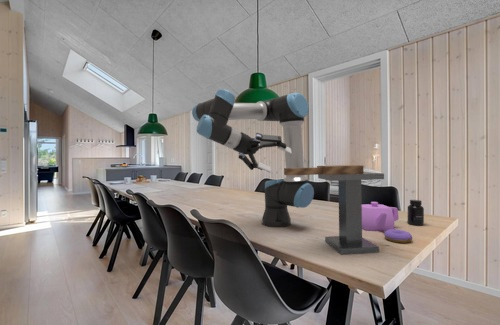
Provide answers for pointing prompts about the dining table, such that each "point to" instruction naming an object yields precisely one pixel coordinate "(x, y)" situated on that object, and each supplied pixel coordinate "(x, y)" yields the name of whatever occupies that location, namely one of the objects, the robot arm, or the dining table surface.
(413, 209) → the supplement bottle
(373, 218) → the teakettle
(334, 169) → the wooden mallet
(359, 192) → the pedestal
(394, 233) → the donut
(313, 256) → the dining table surface
